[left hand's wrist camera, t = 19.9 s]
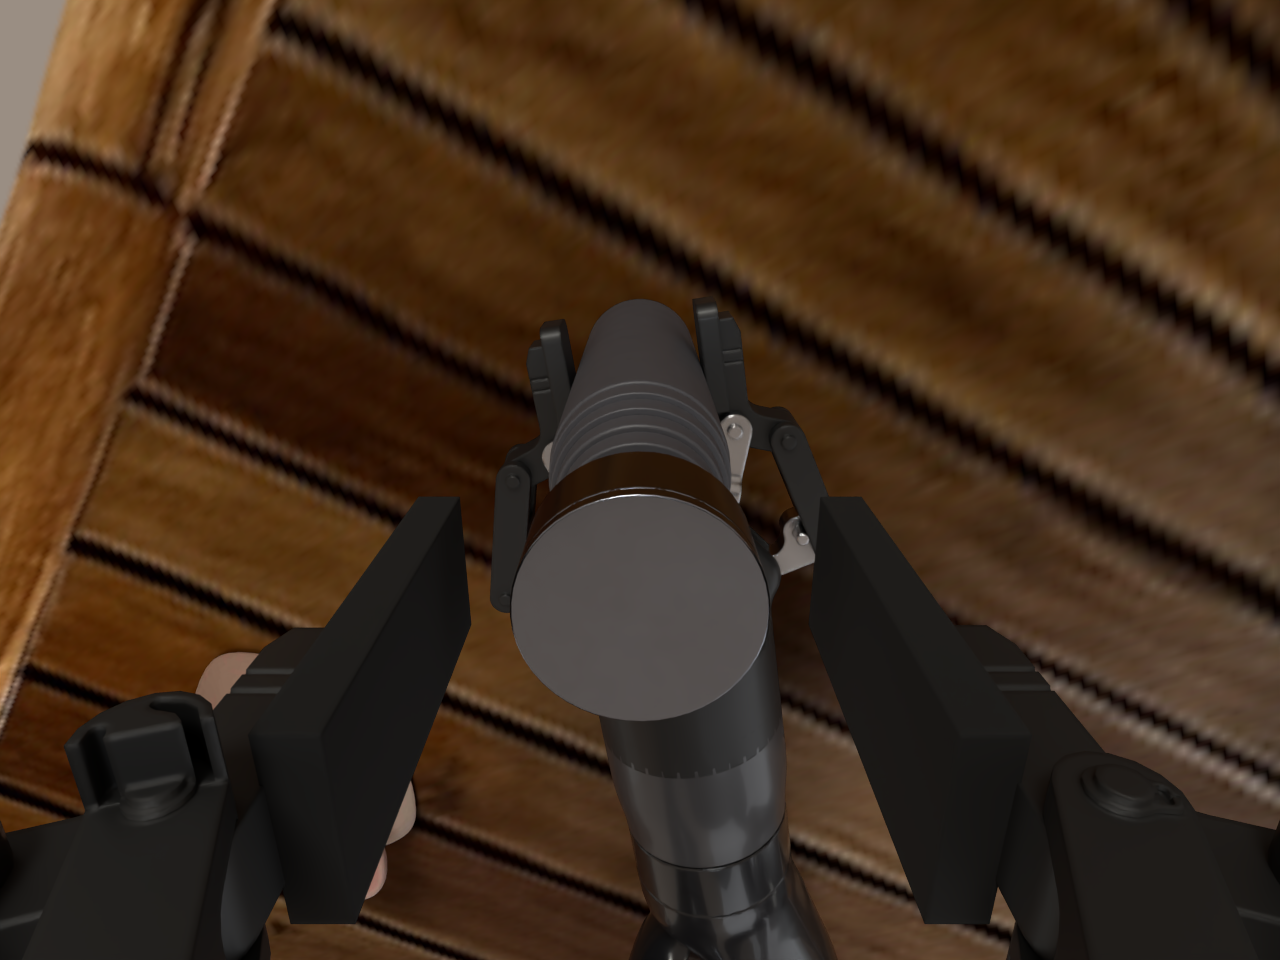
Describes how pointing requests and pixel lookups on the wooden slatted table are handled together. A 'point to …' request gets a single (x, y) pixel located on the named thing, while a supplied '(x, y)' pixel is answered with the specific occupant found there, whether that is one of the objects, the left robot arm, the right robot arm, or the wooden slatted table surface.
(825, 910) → the wooden slatted table surface
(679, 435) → the bottle
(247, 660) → the anatomical model
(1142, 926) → the left robot arm
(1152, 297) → the wooden slatted table surface
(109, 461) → the wooden slatted table surface
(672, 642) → the cap
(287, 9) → the wooden slatted table surface
